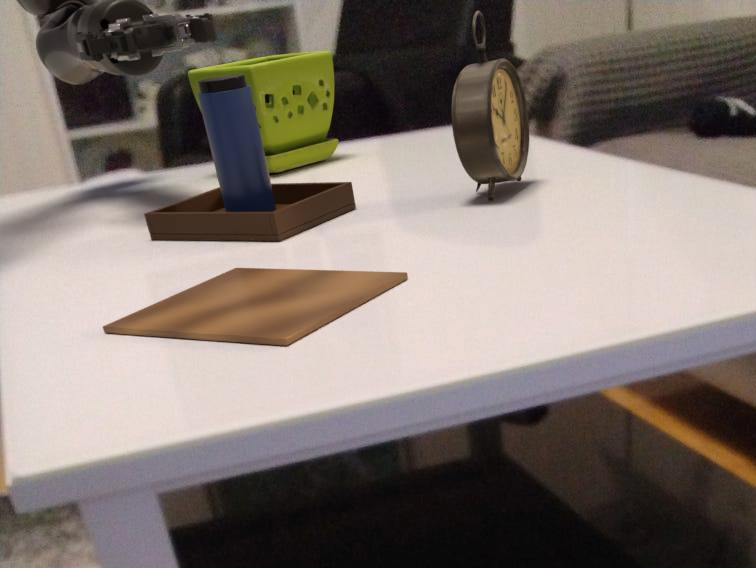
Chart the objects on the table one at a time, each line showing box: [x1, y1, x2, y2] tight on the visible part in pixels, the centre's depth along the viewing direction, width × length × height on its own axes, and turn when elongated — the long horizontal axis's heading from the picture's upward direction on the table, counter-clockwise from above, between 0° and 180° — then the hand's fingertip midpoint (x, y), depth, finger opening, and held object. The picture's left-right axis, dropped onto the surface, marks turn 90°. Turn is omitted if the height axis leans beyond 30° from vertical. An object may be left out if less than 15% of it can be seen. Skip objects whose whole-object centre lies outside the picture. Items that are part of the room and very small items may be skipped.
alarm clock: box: [450, 10, 530, 202], centre depth 102 cm, size 11×5×16 cm, turn 159°
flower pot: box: [187, 50, 339, 174], centre depth 134 cm, size 14×14×13 cm
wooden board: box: [102, 267, 409, 347], centre depth 80 cm, size 18×16×1 cm
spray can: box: [198, 74, 277, 212], centre depth 103 cm, size 5×5×13 cm
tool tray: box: [143, 181, 357, 242], centre depth 106 cm, size 17×13×3 cm
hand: (170, 36), depth 106 cm, fingers open, 8 cm apart
